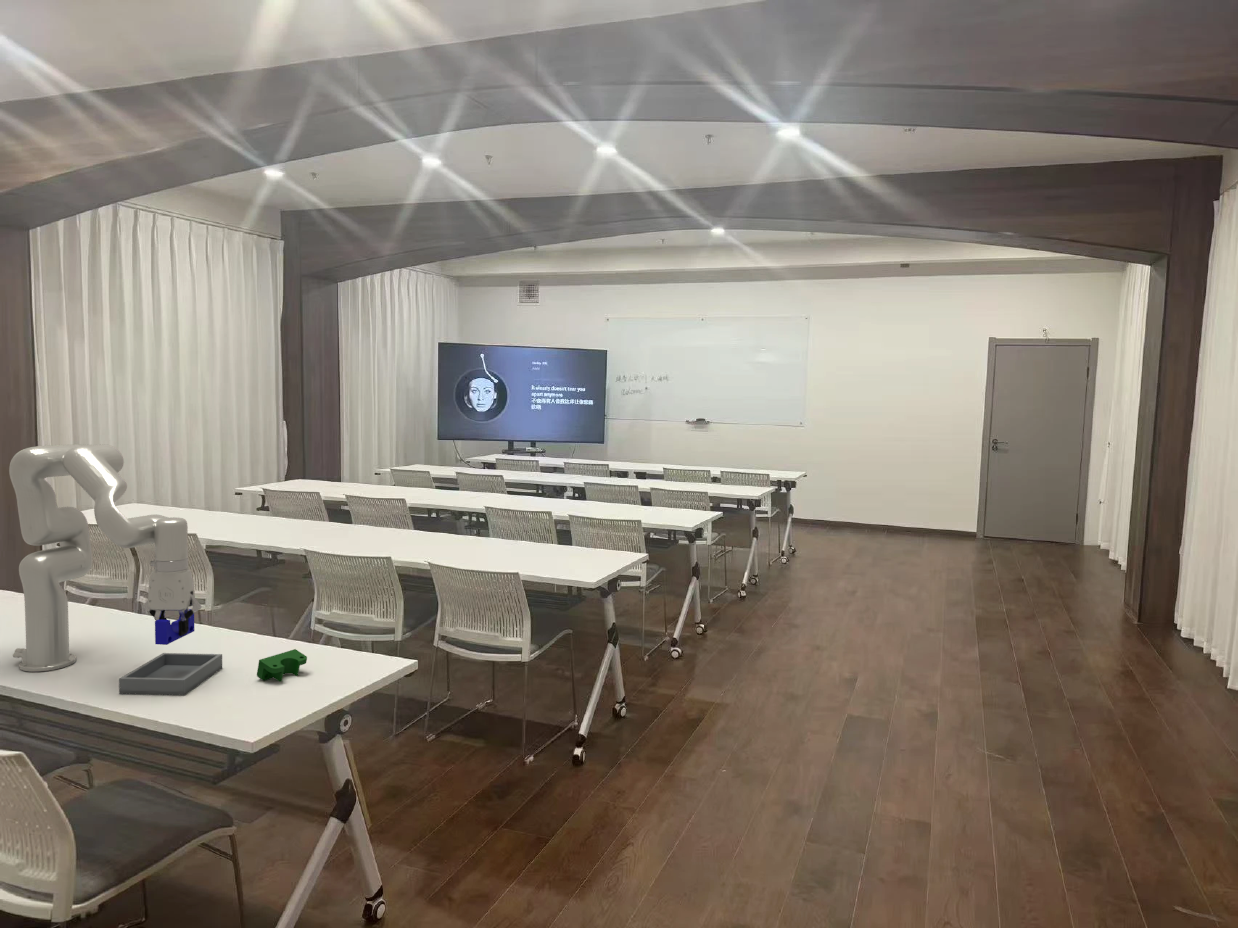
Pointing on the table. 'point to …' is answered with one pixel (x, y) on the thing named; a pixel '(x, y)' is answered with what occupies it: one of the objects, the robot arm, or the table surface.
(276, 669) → the clamp
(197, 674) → the gray tray
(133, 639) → the table surface
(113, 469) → the robot arm
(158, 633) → the blue long angular piece
